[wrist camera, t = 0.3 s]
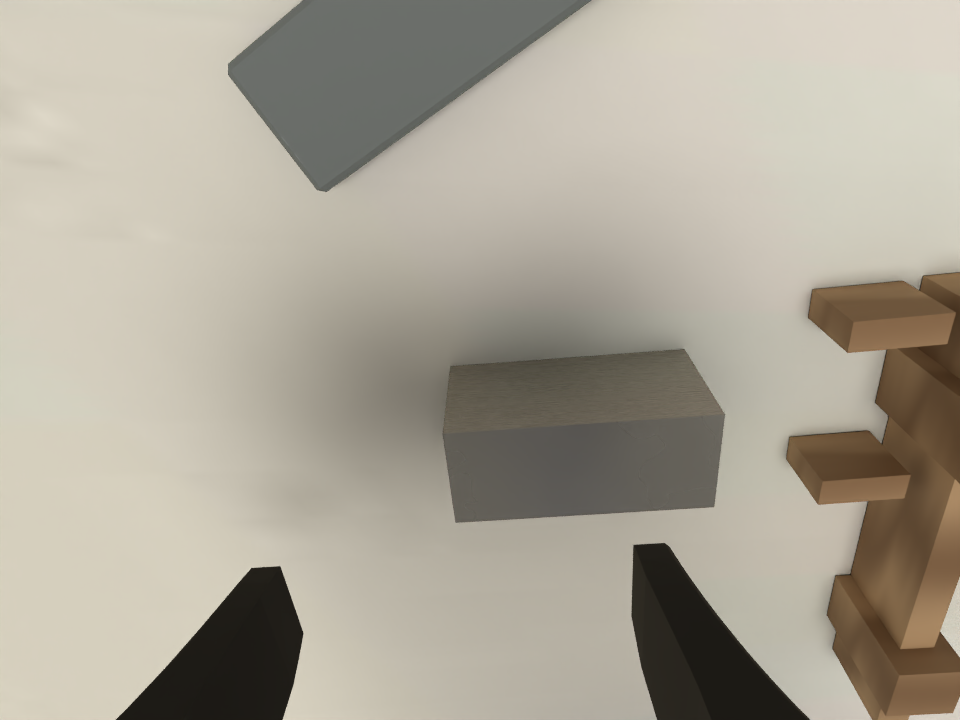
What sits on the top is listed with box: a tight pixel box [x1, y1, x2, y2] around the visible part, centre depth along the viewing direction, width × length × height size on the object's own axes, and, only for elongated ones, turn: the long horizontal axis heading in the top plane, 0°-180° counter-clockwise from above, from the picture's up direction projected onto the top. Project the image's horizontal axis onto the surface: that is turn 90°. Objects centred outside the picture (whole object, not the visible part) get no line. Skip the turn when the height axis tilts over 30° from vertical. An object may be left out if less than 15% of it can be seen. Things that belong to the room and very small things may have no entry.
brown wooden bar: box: [786, 273, 960, 720], centre depth 22 cm, size 18×5×4 cm, turn 6°
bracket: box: [228, 0, 591, 192], centre depth 16 cm, size 4×10×2 cm, turn 124°
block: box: [443, 349, 725, 523], centre depth 20 cm, size 3×8×4 cm, turn 95°
